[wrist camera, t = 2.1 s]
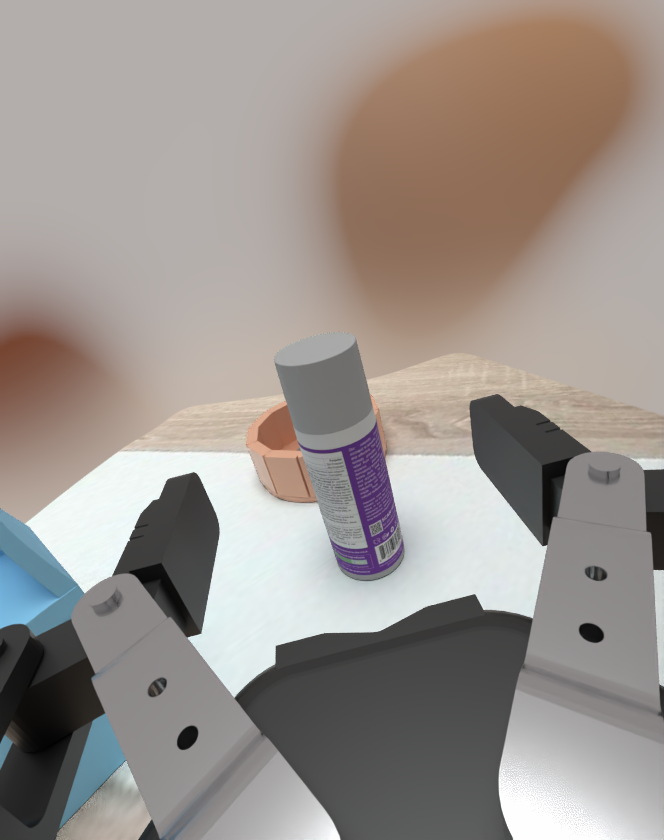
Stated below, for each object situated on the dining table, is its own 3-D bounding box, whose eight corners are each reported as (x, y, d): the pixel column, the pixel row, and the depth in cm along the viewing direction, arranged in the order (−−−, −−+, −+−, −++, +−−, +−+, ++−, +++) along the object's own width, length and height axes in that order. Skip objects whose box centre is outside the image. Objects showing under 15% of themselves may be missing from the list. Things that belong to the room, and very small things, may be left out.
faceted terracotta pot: (371, 416, 46) (363, 377, 44) (400, 479, 35) (390, 432, 33) (264, 445, 46) (250, 408, 44) (260, 517, 36) (242, 473, 33)
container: (391, 520, 32) (346, 325, 25) (415, 565, 27) (369, 346, 21) (330, 541, 31) (267, 348, 24) (346, 591, 27) (275, 375, 20)
